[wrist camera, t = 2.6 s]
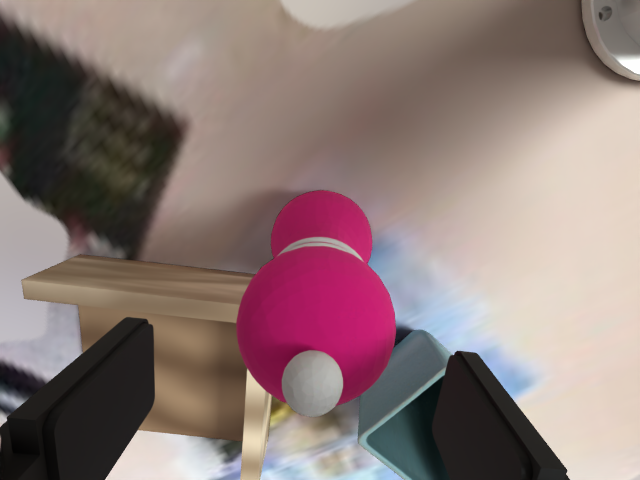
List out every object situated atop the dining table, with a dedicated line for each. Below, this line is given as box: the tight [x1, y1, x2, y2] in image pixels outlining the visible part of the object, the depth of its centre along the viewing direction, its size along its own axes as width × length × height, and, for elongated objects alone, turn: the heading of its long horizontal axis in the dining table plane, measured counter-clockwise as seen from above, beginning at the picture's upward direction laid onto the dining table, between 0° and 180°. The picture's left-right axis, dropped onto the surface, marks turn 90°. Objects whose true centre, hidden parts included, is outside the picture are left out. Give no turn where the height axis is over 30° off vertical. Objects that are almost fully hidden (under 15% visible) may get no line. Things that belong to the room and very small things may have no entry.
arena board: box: [75, 254, 272, 442], centre depth 31 cm, size 18×18×1 cm
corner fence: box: [21, 257, 271, 480], centre depth 28 cm, size 18×18×5 cm
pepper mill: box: [236, 190, 396, 417], centre depth 18 cm, size 7×7×20 cm
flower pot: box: [358, 330, 452, 480], centre depth 27 cm, size 9×9×9 cm
